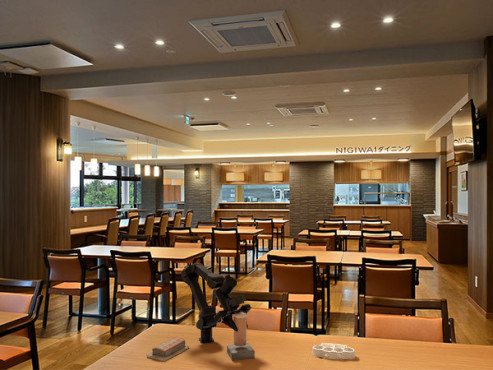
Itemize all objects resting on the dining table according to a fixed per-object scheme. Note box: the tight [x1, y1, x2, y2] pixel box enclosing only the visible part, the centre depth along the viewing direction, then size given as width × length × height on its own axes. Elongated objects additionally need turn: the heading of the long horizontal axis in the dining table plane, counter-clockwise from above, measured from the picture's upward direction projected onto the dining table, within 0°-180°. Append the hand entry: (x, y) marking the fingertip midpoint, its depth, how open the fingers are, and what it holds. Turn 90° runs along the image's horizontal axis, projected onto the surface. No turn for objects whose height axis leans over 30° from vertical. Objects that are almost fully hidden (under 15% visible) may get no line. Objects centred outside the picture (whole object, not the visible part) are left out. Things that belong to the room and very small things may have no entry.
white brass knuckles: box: [312, 342, 356, 360], centre depth 191 cm, size 3×18×15 cm
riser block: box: [226, 342, 256, 361], centre depth 191 cm, size 10×10×3 cm
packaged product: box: [146, 337, 190, 362], centre depth 194 cm, size 18×5×10 cm
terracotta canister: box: [233, 312, 248, 346], centre depth 191 cm, size 6×6×13 cm
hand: (242, 329), depth 190 cm, fingers closed on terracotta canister, 6 cm apart
